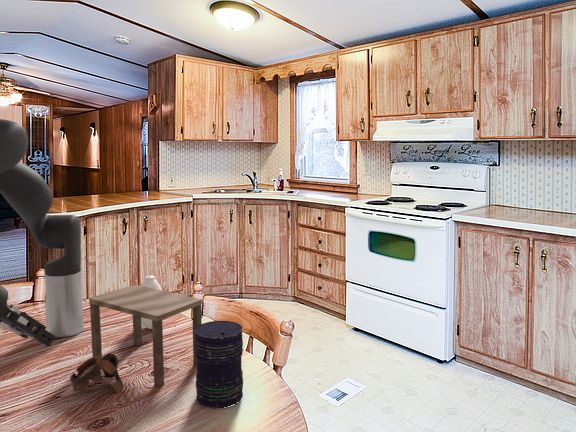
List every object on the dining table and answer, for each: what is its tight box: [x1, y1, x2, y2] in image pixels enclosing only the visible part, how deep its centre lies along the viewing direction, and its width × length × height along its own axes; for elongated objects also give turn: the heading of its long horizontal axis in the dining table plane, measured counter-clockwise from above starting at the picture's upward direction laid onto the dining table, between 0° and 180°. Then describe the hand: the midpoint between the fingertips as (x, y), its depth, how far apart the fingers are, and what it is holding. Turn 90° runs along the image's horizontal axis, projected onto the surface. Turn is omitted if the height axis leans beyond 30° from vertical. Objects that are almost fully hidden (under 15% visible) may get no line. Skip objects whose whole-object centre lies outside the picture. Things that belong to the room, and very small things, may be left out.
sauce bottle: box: [140, 267, 163, 330], centre depth 140 cm, size 8×8×18 cm
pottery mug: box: [69, 352, 124, 395], centre depth 106 cm, size 12×10×8 cm
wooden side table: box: [88, 284, 203, 388], centre depth 117 cm, size 23×14×16 cm, turn 58°
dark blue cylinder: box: [195, 320, 244, 410], centre depth 102 cm, size 10×10×15 cm
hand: (39, 337), depth 94 cm, fingers open, 7 cm apart
